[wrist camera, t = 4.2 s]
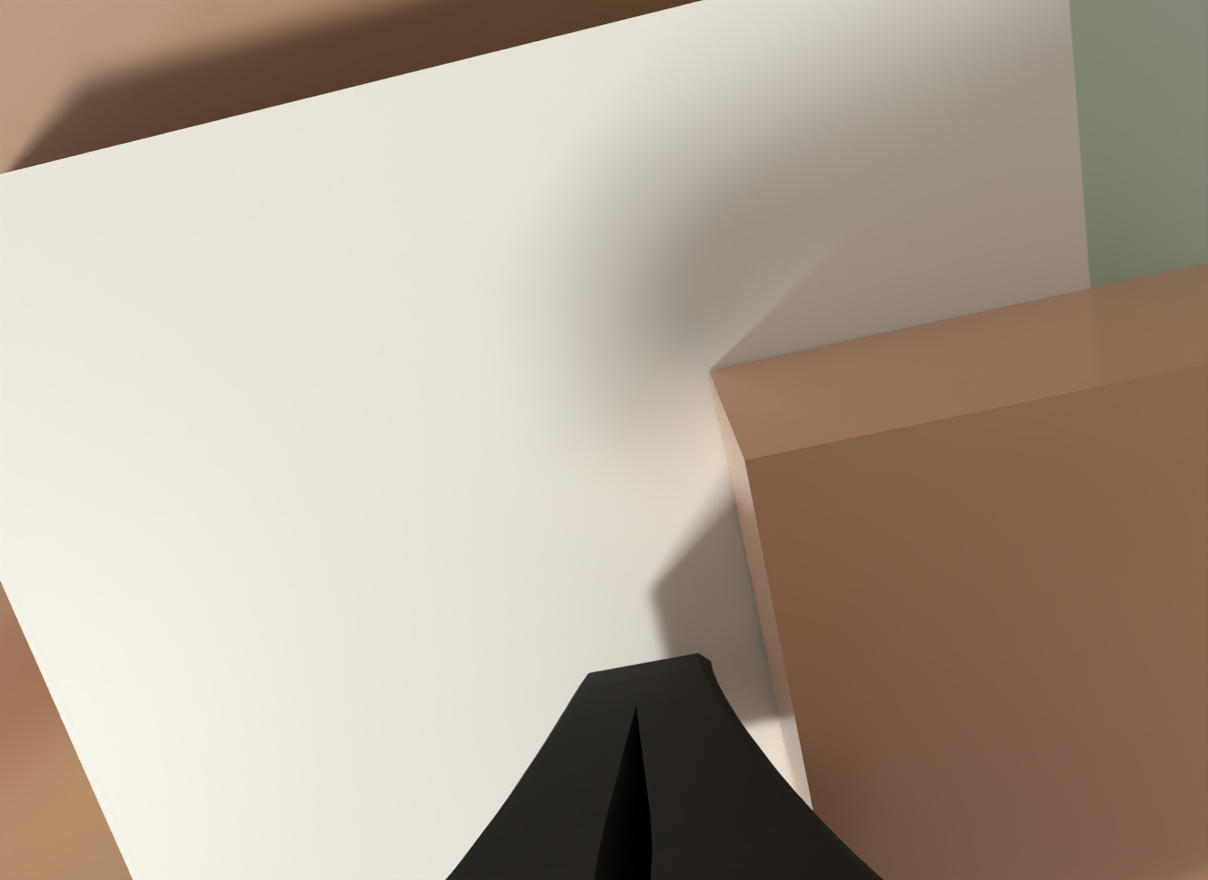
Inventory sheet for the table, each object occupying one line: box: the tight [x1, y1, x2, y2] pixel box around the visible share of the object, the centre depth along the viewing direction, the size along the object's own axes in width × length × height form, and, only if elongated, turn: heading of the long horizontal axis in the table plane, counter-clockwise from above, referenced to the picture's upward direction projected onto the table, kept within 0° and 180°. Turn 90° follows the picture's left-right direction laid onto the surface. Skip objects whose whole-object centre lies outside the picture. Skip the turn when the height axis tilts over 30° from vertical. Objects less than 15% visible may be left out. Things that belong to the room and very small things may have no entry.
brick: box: [709, 263, 1208, 880], centre depth 9 cm, size 6×7×3 cm
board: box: [0, 0, 1090, 880], centre depth 11 cm, size 12×14×2 cm
